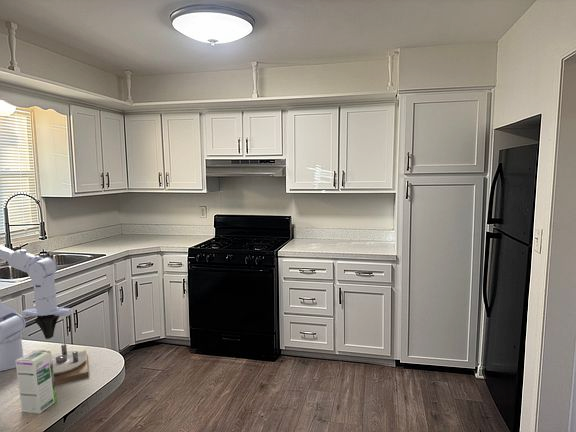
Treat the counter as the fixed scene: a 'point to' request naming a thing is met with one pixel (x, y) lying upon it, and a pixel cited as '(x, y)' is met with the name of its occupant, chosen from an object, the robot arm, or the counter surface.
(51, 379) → the syrup box
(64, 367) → the capstan dial
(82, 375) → the tan base board
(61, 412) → the counter surface
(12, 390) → the counter surface
